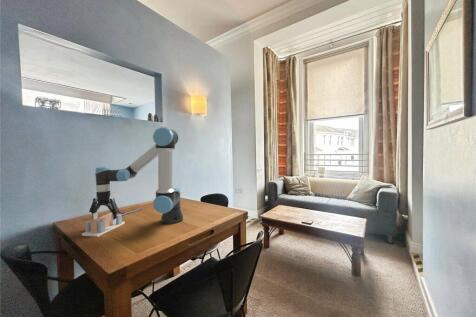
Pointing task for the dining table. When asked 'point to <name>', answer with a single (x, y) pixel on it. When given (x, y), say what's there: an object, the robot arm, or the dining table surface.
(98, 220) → the pink rectangular block
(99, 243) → the dining table surface
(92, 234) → the rack
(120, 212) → the squeegee
